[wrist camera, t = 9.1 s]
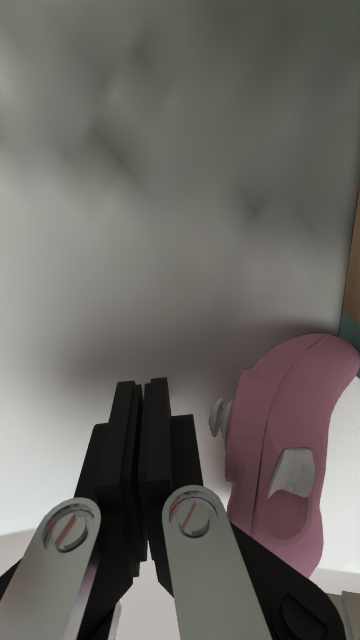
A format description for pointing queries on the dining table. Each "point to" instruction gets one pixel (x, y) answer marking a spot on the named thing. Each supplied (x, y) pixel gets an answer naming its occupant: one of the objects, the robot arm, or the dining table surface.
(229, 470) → the video game controller
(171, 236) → the dining table surface
